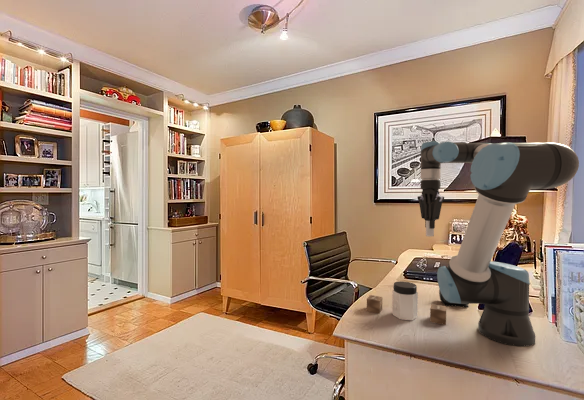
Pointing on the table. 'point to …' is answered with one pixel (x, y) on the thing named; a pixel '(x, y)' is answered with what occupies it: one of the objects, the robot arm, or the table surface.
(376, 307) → the walnut block
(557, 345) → the table surface
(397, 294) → the jar
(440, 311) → the walnut block
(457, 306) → the end cap
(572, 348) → the table surface
